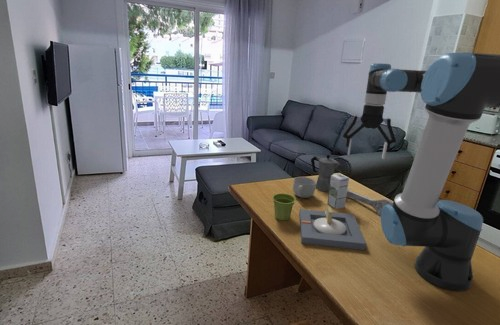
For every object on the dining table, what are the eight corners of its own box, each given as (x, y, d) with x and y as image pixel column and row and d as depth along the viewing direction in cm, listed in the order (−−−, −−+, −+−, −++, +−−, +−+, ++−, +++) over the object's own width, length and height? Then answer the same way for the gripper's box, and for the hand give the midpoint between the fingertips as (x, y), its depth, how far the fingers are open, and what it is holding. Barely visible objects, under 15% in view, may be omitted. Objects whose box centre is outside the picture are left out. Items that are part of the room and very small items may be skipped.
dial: (348, 237, 109) (350, 223, 108) (314, 234, 111) (316, 220, 109) (342, 221, 121) (344, 207, 120) (312, 218, 123) (313, 205, 121)
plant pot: (298, 217, 125) (300, 198, 122) (284, 225, 118) (286, 205, 116) (280, 209, 131) (281, 191, 128) (266, 216, 124) (267, 197, 122)
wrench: (343, 198, 152) (393, 219, 126) (340, 199, 152) (389, 220, 125) (344, 183, 151) (394, 201, 124) (341, 183, 150) (391, 202, 123)
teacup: (298, 189, 154) (300, 174, 151) (318, 195, 148) (320, 180, 145) (285, 197, 143) (286, 182, 140) (305, 204, 137) (307, 188, 135)
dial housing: (365, 250, 105) (366, 243, 104) (301, 243, 107) (302, 236, 106) (352, 219, 125) (353, 213, 125) (299, 214, 128) (299, 208, 127)
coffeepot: (339, 188, 157) (344, 155, 152) (333, 194, 150) (338, 159, 144) (312, 181, 165) (315, 149, 160) (304, 186, 158) (308, 153, 152)
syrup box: (345, 207, 136) (350, 177, 132) (335, 209, 134) (339, 179, 129) (336, 202, 141) (340, 173, 136) (326, 204, 138) (330, 174, 134)
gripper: (406, 106, 119) (396, 157, 125) (341, 101, 125) (334, 150, 132) (410, 108, 112) (399, 162, 118) (341, 103, 119) (334, 155, 125)
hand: (365, 156), depth 125 cm, fingers open, 13 cm apart
